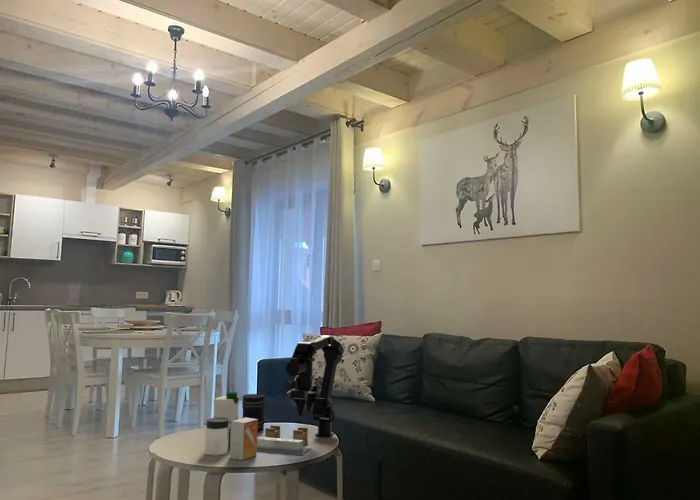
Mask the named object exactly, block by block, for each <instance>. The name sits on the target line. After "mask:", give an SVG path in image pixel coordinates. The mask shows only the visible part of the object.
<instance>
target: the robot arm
mask: <svg viewBox="0 0 700 500" xmlns="http://www.w3.org/2000/svg"><path fill="white" fill-rule="evenodd" d="M319 350H321V351H322V352H323V358H324V361H325V367H324V371H323V376H322V380H321V386H319V385H318V384H313V379H315V376H314V375H313V365H314V364H313V362H315V360H316V359H315V358H314V356H315V355H316V354H317V353H318V352H317V351H319ZM344 352H345V350H344V347H343V345H342V344H341V342H339V341H338V340H336V339H335V338H334V337H333V336H332V335H321V336H320V337H318V338H315V339H312V340H311V341H299V342H298V343H297V344H296V346H295V349H294V351H293V354H292V356H291V358H290V361H289V362H288V363H287V364H286V367H285V371H286V374H287V375H288V376H290V377H295V380H292V381H291V380H289V379H288V380H285V381H284V383H283V388H282V389H284V390H285V393H287V392H289V398H290V399H291V401H294V403H295V405H296V408H297V412H298V415H299V417H300V416H301V417H302V416H303V414H304V411H305V409H306V411H307V412H312V419H313V421H317V433H316V434H314V435H315V437H323V438H324V437H326V438H330V437H332V436H333V435H334V433H335V432H333V431H332V422H336V419H337V414H336V411H335V410H334V403H333V400H332V393H333V388H334V382H335V375H336V370H337V366H338V364H339V363H340V362H341V361H342V359H343V355H344ZM318 393H319V395H318ZM305 407H306V408H305Z"/></svg>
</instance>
